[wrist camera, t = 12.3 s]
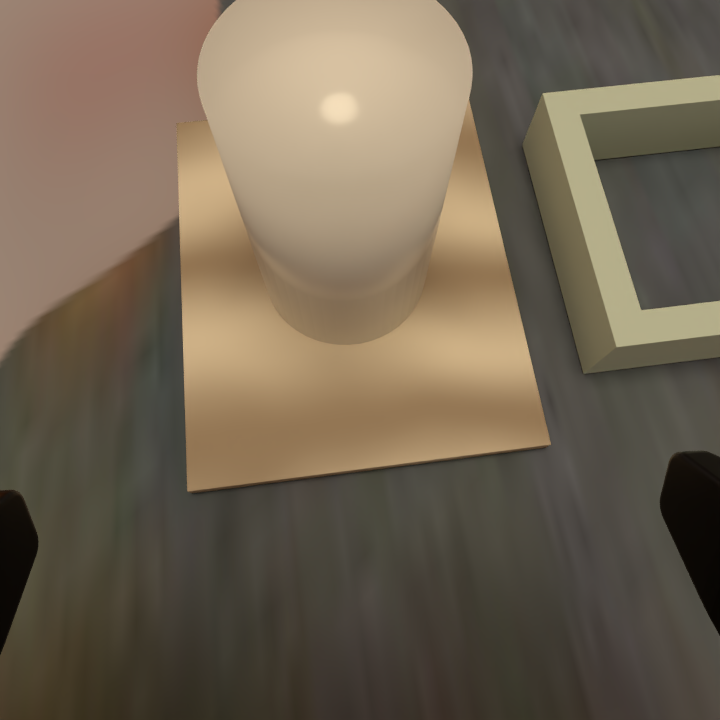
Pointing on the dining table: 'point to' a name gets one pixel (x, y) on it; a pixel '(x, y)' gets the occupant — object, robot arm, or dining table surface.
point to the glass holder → (594, 221)
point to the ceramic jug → (338, 149)
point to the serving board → (347, 348)
